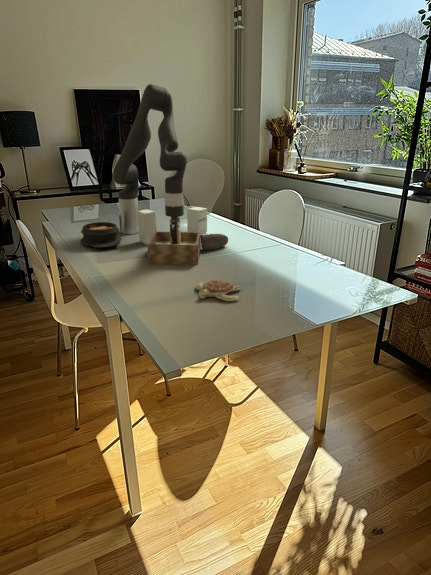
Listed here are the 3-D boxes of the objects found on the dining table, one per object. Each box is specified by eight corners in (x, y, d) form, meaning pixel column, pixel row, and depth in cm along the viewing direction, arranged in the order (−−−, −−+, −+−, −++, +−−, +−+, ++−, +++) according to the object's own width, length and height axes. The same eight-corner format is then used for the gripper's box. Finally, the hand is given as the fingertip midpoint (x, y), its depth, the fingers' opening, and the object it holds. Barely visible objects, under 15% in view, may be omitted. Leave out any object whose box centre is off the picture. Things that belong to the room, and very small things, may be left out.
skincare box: (157, 243, 195) (156, 211, 189) (146, 245, 192) (144, 213, 186) (150, 239, 201) (148, 208, 196) (138, 241, 198) (136, 209, 193)
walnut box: (148, 263, 169) (147, 244, 166) (155, 248, 187) (154, 231, 184) (198, 264, 169) (197, 245, 166) (200, 249, 187) (200, 232, 184)
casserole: (75, 239, 200) (73, 222, 197) (113, 234, 209) (112, 218, 205) (87, 253, 180) (85, 234, 177) (129, 248, 188) (128, 229, 185)
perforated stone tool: (225, 244, 195) (225, 230, 192) (231, 247, 190) (231, 232, 188) (196, 249, 188) (196, 234, 185) (202, 252, 183) (202, 237, 181)
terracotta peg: (170, 253, 175) (169, 229, 172) (171, 250, 179) (170, 227, 175) (179, 253, 175) (179, 230, 172) (180, 250, 179) (180, 227, 175)
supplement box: (198, 235, 208) (198, 210, 203) (186, 233, 212) (186, 208, 208) (207, 232, 214) (207, 208, 209) (196, 230, 218) (196, 206, 213)
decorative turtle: (180, 293, 143) (180, 279, 141) (215, 281, 153) (215, 268, 151) (218, 310, 131) (218, 295, 129) (253, 295, 141) (254, 281, 139)
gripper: (167, 200, 176) (168, 239, 183) (162, 207, 163) (164, 249, 170) (185, 200, 176) (185, 240, 183) (182, 207, 163) (182, 249, 169)
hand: (175, 244), depth 176 cm, fingers closed on terracotta peg, 4 cm apart
